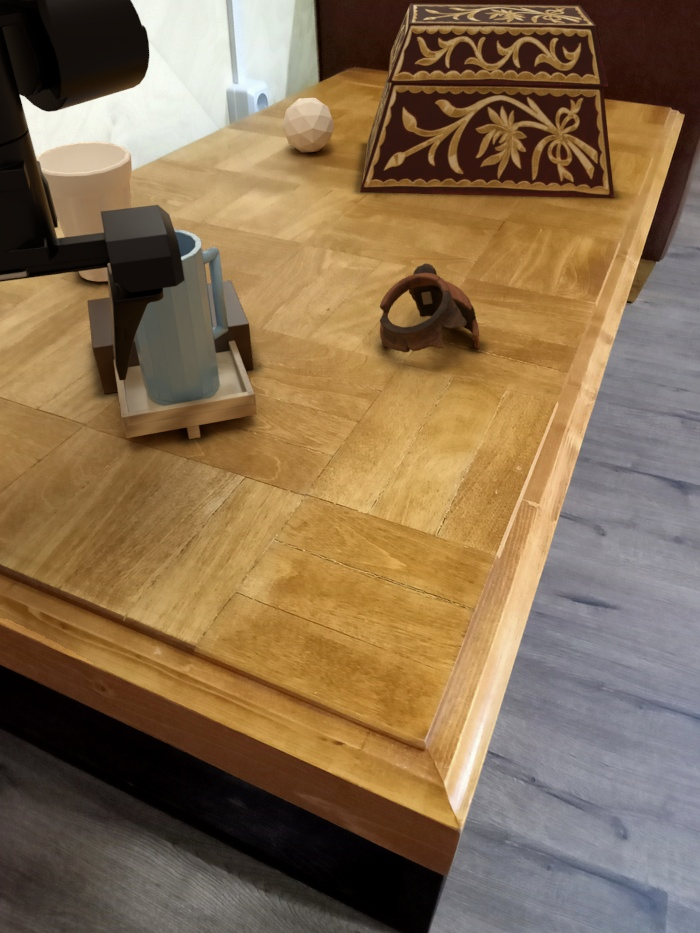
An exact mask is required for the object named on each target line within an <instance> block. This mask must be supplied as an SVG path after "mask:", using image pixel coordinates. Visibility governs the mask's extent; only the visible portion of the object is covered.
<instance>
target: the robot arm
mask: <svg viewBox="0 0 700 933" xmlns="http://www.w3.org/2000/svg"><path fill="white" fill-rule="evenodd" d="M149 41H150V40H149V36H148V31H147V28H146V27H145V25H144V24H142V21H141V19H140V16H139V13H138V11H137V10H136V7H135V5H134V3H133V2H132V0H0V283H1V282H8V281H16V280H25V279H31V278H38V277H45V276H54V275H55V276H56V275H62V274H68V273H77V272H79V271H85V270H92V269H100V268H107V276H108V281H107V283H108V284H107V285H108V286H107V287H108V297H109V298H110V311H111V324H112V337H113V350H114V357H115V364H116V369H117V373H118V377H119V380H120V381H121V380H126V376H127V371H128V366H129V361H130V357H131V352H132V347H133V343H134V338H135V335H136V332H137V329H138V327H139V324H140V322H141V319H142V317H143V314H144V312H145V309H146V307H147V305H148V304H149V303H151V302H156V301H159V300H161V299H162V298H163V297H164V292H163V288H167V287H174V286H177V285H179V284H180V283H182V282H183V281H185V279H184V273H183V267H182V260H181V254H180V249H179V244H178V240H177V237H176V234H175V231H174V229H175V228H174V225H173V222H172V218H171V216H170V213H168V212H167V211H166V210H165V209H163V207H161V206H160V205H159V204H154V205H144V206H137V207H136V206H135V207H131V208H126V209H118V210H109V211H101V217H102V223H103V229H104V233H96V234H88V235H80V236H72V237H65V236H64V237H58V236H57V232H56V229H57V228H59V221H58V219H57V216H56V212H55V208H54V204H53V200H52V196H51V192H50V188H49V184H48V181H47V180H46V178H45V176H44V175H43V173H42V170H41V165H40V162H39V161H37V159H36V157H37V155H36V151H35V148H34V144H33V140H32V137H31V132H30V129H29V126H28V122H27V118H26V114H25V110H24V106H23V103H22V98H21V96H22V97H24V98H25V99H26V100H27V101H29V102H30V103H31V104H32V105H33V106H34V107H36V108H38V109H40V110H41V111H44V112H48V113H49V112H58V111H61V110H63V109H67V108H70V107H74V106H77V105H80V104H84V103H87V102H90V101H93V100H98V99H100V98H104V97H107V96H110V95H114V94H116V93H120V92H123V91H128V90H130V89H134V88H136V87H137V86H139V85H140V84H141V83H142V81H143V80H144V79H145V78H146V75H147V72H148V69H149V63H150V42H149Z"/></svg>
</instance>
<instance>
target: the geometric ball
mask: <svg viewBox="0 0 700 933" xmlns="http://www.w3.org/2000/svg"><path fill="white" fill-rule="evenodd" d="M334 125H335V122H334V118H333V117H332V114H331V111H330V108H329V106H327V105H326V104H324V103H323V102H322V101H320V100H319V99H318V98H316V97H302V98H297V99H296V100H295V101H294V103H292V104H291V105H290V106H289V107H287V109H285V113H284V117H283V122H282V130H283V132H284V135H285V138H286V140H287V143H288V144H289V145H290V146H292V147H293V148H295V149H296V150H298V151H299V152H301V153H314V152H319V151H320V150H321V149H322V148H324V147H325V146H326V145H327V144H328V143H329V142H330V141H331V139H332V136H333V134H334Z"/></svg>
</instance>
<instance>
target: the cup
mask: <svg viewBox="0 0 700 933" xmlns="http://www.w3.org/2000/svg"><path fill="white" fill-rule="evenodd" d="M36 159H37V161H39V162H40V165H41V170H42V173H43V175H44V176H45V178H46V180H47V181H48V184H49V188H50V192H51V196H52V200H53V204H54V208H55V212H56V216H57V220H58V225H59V226H60V229H61V231H62V234H63V236H64V237H72V236H80V235H88V234H96V233H104V229H103V223H102V217H101V211H109V210H118V209H126V208H132V202H131V201H132V200H131V178H132V173H133V172H132V171H133V166H132V154H131V152H130V151H128V149H126V148H125V146H122V145H118V144H115V143H112V142H101V141H87V142H86V141H85V142H75V143H68V144H62V145H59V146H56V147H52V148H50V149H47V150H45V151H43V152H42V153H40V154H38V155H36ZM78 274H79V275H80V277H81V278H83V279H85V280H87V281H92V282H108V276H107V268H100V269H92V270H85V271H78Z"/></svg>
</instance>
